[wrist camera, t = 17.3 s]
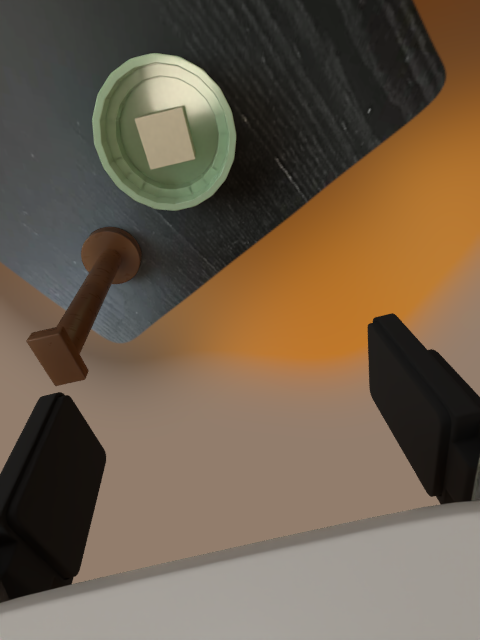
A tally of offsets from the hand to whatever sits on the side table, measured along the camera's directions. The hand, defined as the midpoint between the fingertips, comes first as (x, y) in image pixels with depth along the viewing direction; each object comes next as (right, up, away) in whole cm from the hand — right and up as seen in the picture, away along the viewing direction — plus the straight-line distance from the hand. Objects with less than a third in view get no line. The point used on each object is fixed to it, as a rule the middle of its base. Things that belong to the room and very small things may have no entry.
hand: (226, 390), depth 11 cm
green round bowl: (-6, +20, +23) cm, 31 cm away
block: (-6, +19, +23) cm, 31 cm away
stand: (-13, +9, +29) cm, 33 cm away
